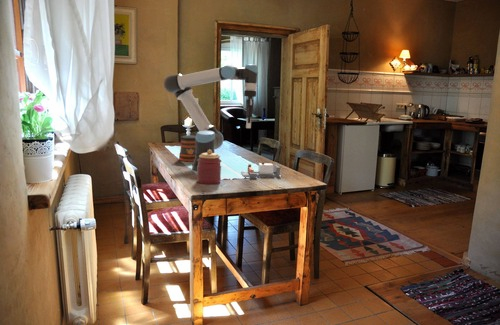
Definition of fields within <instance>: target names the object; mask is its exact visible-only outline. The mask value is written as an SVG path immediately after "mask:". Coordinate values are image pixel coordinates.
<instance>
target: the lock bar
mask: <svg viewBox="0 0 500 325" xmlns="http://www.w3.org/2000/svg"><path fill="white" fill-rule="evenodd" d="M247 172H249V173H254V172H255V170H254V168H253V167H252V164H248V165H247Z"/></svg>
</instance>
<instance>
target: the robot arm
mask: <svg viewBox="0 0 500 325" xmlns="http://www.w3.org/2000/svg"><path fill="white" fill-rule="evenodd" d="M226 80H231V81H232V80H236V81H244V87H243V88H244V92H243V96H244V97H247V98H246V101H245V102H246V109H245V110H246V111H245V112H246V114H245V116H246V117H245V118H246V124H245V128H246V129H251V128H252V118H253V108H254V99H253V98H257V97H256V96H257V88H258V85H257V84H258V65H257V64H251V63H250V64H245V67H238V66H237V67H236V66H232V65H229V64H228V65H227V64H226V65H225V66H222V67H217V68H212V69H206V70H202V71H201V70H200V71H197V72H192V73H187V74H181V73H178V74H170V75H167V76H166V77H165V79H164V80H163V87H164V89H165V90H166V92H168V93H169V94H174V96H175V98H176V99H177V100H178V101H181V103H182V105H183V106H184V108H185V110H186V111H187V113H188V114H189V116H190V118H191V119H192V121H193V123H194V124H195V126H196V128H197V129H198V131H197V132H196V156H195V159H194V161H193V162H192V168H191V169H192V170H194V171H197V165H198V161H197V160H198V159H199V158H200V157H199V155H201V154H202V153H207V151H208V150H212V153H215V150H218V149H219V148H220V147H221V146H222V145H223V143H224V135H223V134H222V133H221V132H220V131H219V130H217V128H216V126H215V125H212V124H211V122H210V120H208V117H207V116H206V114H205V113H204V110H203V109H202V107H201V106H200V104H199V103H198V101H197V99H196V97H195V96H194V94H193V92H194V91H193V88H192V87H195V86H200V85H206V84H211V83H215V82H220V81H226Z"/></svg>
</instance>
